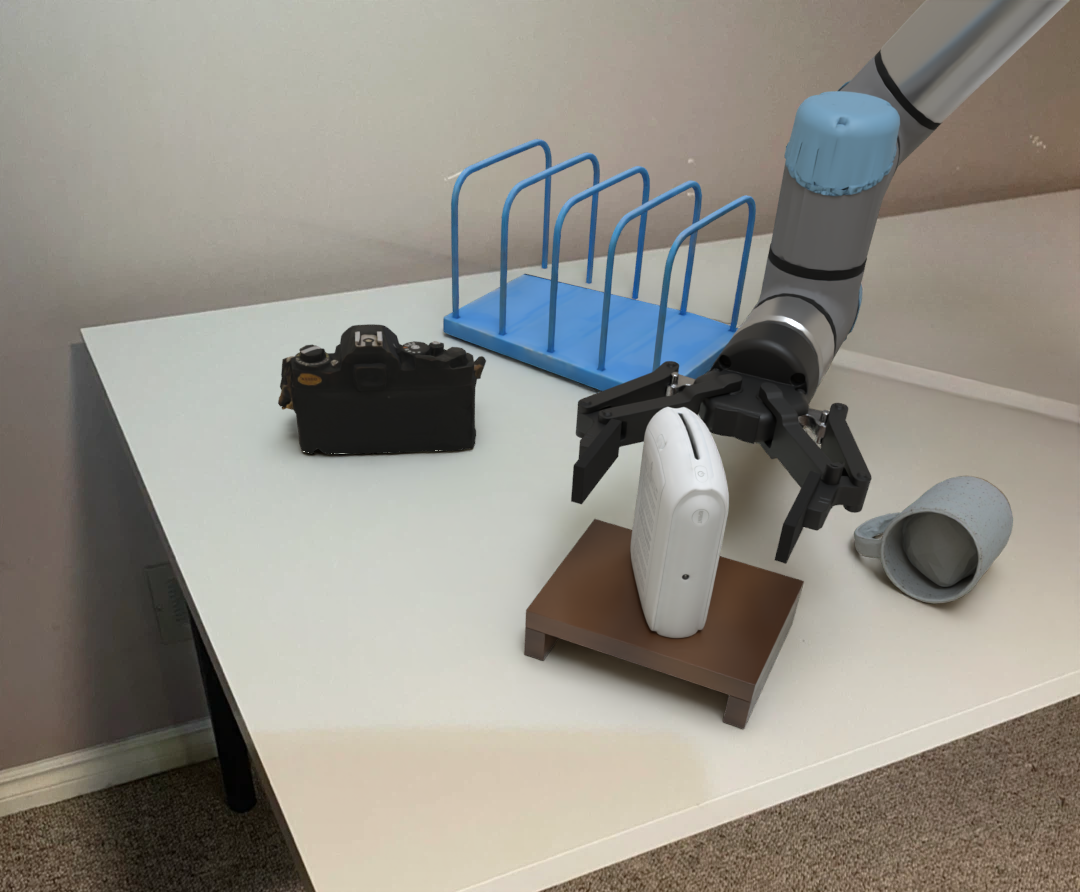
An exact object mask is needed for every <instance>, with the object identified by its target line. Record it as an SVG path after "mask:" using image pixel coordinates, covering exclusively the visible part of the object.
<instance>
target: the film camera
mask: <svg viewBox="0 0 1080 892" xmlns="http://www.w3.org/2000/svg"><path fill="white" fill-rule="evenodd" d="M486 362H487V359H486V358H485V357H484V356H483V355H481V356H478V357H477V358H476V359H474V354H472V353H470V352H467V351H466V349H464V348H463V347H458V346H451V347H449V348H448V349H447V348H446V349H445V343H444V342H440V341H437V340H434V341H431V342H429V343H426V342H424V341H413V340H412V341H409V342H406V343H403V344H401V343H400V341H399V338H398V335H397V334H396V333H394V331H392V330H391V329H390V328H389V327H388V326H387V325H383V324H375V323H374V324H371V323H370V324H355V325H351V326H349V327H348V328H347V329H346V330H344V332H342V333H341V335H340V341H339V344H338V345H336V346H335V349H334V352H326V349H325V348H323V347H321V346H319V345H315V344H305V345H304V346H302V347H301V348H299V352H297V353H296V354H295V355H291V356H287V357H285V358H282V360H281V371H280V372H281V373H280V376H281V379H280V384H279V388H280V394H279V396H278V401H277V404H278V406H279V407H281V410H283V411H284V410H286V409H287V410H291V411H293V412H294V413H295V417H296V425H297V432H298V433H297V434H298V444H299V447H300V450H301V449H302V450H301V452H302V451H305V452H309V453H314V452H315V451H316V450H319V451H320V452H321V453H323V454H325V455H327V454H331V453H332V454H334V453H356V454H355V455H363V454H362V453H365V454H367V453H369V454H371V453H372V454H374V453H377V454H384V453H383V452H387V453H386V454H389V453H388V452H400V453H403V452H404V453H405V452H406V453H419V452H418V451H422V452H425V451H435V450H438V451H439V450H443V451H442V452H453V451H452V450H456V451H464V449H465V450H470V449H469V448H471V449H473V448H475V445H474V444H476V443H475V442H476V438H477V429H476V418H475V417H476V386H477V382H478V380H479V379H482V374H483V371H484V368H485V365H486ZM461 449H462V450H461ZM446 450H447V451H446ZM439 452H440V451H439ZM358 453H360V454H358ZM334 455H335V454H334Z"/></svg>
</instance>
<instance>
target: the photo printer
mask: <svg viewBox="0 0 1080 892" xmlns="http://www.w3.org/2000/svg"><path fill="white" fill-rule="evenodd" d="M642 445H643V446H642V452H641V461H640V468H639V476H638V484H637V493H636V499H635V507H634V513H633V521H632V528H631V530H632V537H631V561H632V566H633V571H634V576H635V580H636V585H637V589H638V593H639V597H640V601H641V605H642V609H643V612H644V615H645V618H646V621H647V623H648V626H649V628H650V629H651V630H652V631H656V632H657V633H658V634H659V635H661V636H665V637H669V638H684V637H689V636H692V635H694V634H695V633H696V632H697V631H698V630H702V629H703V627H704V625H705V622H706V619H707V614H708V609H709V605H710V600H711V595H712V591H713V586H714V581H715V576H716V571H717V566H718V562H719V557H720V556H721V552H722V551H721V550H722V547H723V542H724V536H725V531H726V526H727V522H728V517H729V510H730V509H729V508H730V495H729V494H730V493H729V485H728V481H727V475H726V471H725V467H724V464H723V460H722V457H721V454H720V452H719V449H718V446H717V443H716V441H715V439H714V438H713V435H712V433H710V431H709V429H708V428H707V426H706V425H705V423H704V422H703V421H702V419H701V418H700V416H699V415H696V414H695V413H694V412H692V411H691V410H689V409H687V408H685V407H682V408H678V409H676V408H671V407H666V408H663V409H662V410H660V411H659V412H658V413H656V414H655V415H654V416H653V418H652V419H651V420H650V422H649V424H648V426H647V428H646V432H645V436H644V442H643V444H642Z"/></svg>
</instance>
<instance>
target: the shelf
mask: <svg viewBox="0 0 1080 892" xmlns="http://www.w3.org/2000/svg"><path fill="white" fill-rule="evenodd" d="M631 537H632V528H628V527H625V526H621V525H618V524H614V523H611V522H608V521H604V520H600V519H599V518H594V519H593V520H592V521H591V523H590V524H589V526H587V528H586V530H585V531H584V532H583V534H582V535H581V536H580V537H579V539H578V540H577V542H576V543H574V546H572V548H571V550H570V551H569V552H568V553H567V555H566V556H565V557H564V559H563V560H562V562H561V563H560V564H559V565H558V566H557V568H556V570H555V571H554V572H553V574H551V576H550V577H549V579H548V580H547V582H546V583H545V584H544V585H543V587H542V588H541V590H540V591H539V592H538V594H536V596H535V597H534V599H533V600H532V601H531V602H530V604H529V605H528V607H527V608H526V609H525V625H524V649H523V654H524V655H526V656H528V657H531V658H534V659H536V660H540V661H543V662H544V660H545V659H546V658H547V656H548V655H549V654H550V652H551V651H552V649H553V648H554V646H555V645H556V644H557V642H558V640H559V639H560V640H564V641H567V642H569V643H572V644H576V645H579V646H582V647H585V648H587V649H590V650H594V651H597V652H598V653H599V652H600V653H603V654H606V655H607V656H608V655H609V656H612V657H614V658H618V659H621V660H623V661H627V662H629V663H632V664H635V665H639V666H641V667H643V668H644V667H645V668H648V669H651V670H653V671H657V672H659V673H663V674H666V675H668V676H672V677H674V678H677V679H679V680H680V679H681V680H683V681H687V682H688V683H689V682H690V683H692V684H696V685H698V686H702V687H704V688H707V689H710V690H713V691H716V692H719V693H722V694H725V695H728V697H727V701H726V704H725V705H726V706H725V709H724V715H723V718H722V723H724V724H728V725H730V726H733V727H736V728H740V729H742V730H744V729H746V726H747V724H748V722H749V720H750V718H751V715H752V713H753V711H754V708H755V707H756V705H757V702H758V700H759V698H760V697H761V696H760V695H761V694H762V691H763V689H764V687H765V685H766V683H767V681H768V678H769V676H770V673H771V672H772V669H773V667H774V665H775V663H776V661H777V658H778V657H779V654H780V652H781V650H782V647H783V645H784V643H785V641H786V639H787V637H788V635H789V632H790V630H791V628H792V626H793V623H794V620H795V615H796V613H797V609H798V605H799V601H800V598H801V595H802V591H803V587H804V584H805V581H804V580H802V579H799V578H795V577H792V576H789V575H786V574H782V573H778V572H775V571H772V570H769V569H765V568H761V567H759V566H755V565H752V564H748V563H745V562H743V561H742V562H741V561H739V560H735V559H732V558H728V557H725V556H721V555H720V557H719V562H718V566H717V571H716V576H715V581H714V586H713V591H712V595H711V600H710V605H709V609H708V614H707V619H706V622H705V625H704V627H703V629H702V630H698V631H697V632H696V633H695V634H694V635H692V636H689V637H684V638H669V637H665V636H661V635H659V634H658V633H657V632H656V631H652V630H651V629H650V628H649V626H648V623H647V621H646V618H645V615H644V612H643V609H642V605H641V601H640V597H639V593H638V589H637V585H636V580H635V576H634V571H633V566H632V561H631Z"/></svg>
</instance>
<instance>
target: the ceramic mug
mask: <svg viewBox="0 0 1080 892" xmlns="http://www.w3.org/2000/svg"><path fill="white" fill-rule="evenodd" d="M1013 526H1014V516H1013V510H1012V507H1011V504H1010V501H1009V500H1008V497H1007V496H1006V495H1005V494H1004V492H1003V491H1002V490H1001V489H1000V488H999V487H998V486H996V485H995V484H994V483H991V482H990V481H988V480H986V479H984V478H981V477H979V476H974V475H973V476H972V475H958V476H954V477H949V478H946V479H944V480H942V481H939V482H937V483H936V484H934V485H933V486H931V487H930V488H929V489H927V490H926V491H925V492H923V494H921V495H920V496H919V497H918V498H917V499H916V500H914V501H913V502H912V503H911V504H909V505H907V507H905V508H904V509H903V510H902V511H900V512H891V513H886V514H882V515H878V516H874V517H872V518H870V519H868V520H866V521H865V522H862V523H861V524H860V525H858V526H857V527H855V529H854V532H853V538H854V547H855V550H856V552H857V553H858V554H859V555H861V556H863V557H865V558H869V559H870V558H871V559H877V560H880V562H881V566H882V568H883V571H884V573H885V574H886V576H887V577H888V579H889V581H890V582H891V583H892V584H893V585H894V586H895V587H896V588H897V589H899V590H900V591H901V592H902V593H904V594H905V595H906V596H908V597H910V598H912V599H915V600H917V601H920V602H923V603H927V604H946V603H949V602H953V601H957V600H958V599H960V598H962V597H964V596H966V595H967V594H968V593H970V592H971V590H972V589H973V588H974V587H975V586H976V585H977V584H978V583H979V581H980V580H981V579H982V577H983V576H984V575H985V574H986V572H987V571H988V570H989V569H990V568H991V566H992V565H993V563H994V562H995V561H996V560H997V559H998V557H999V556H1000V555H1001V553H1002V552H1003V551H1004V549H1005V548H1006V547H1007V544H1008V542H1009V540H1010V537H1011V535H1012V533H1013ZM880 535H881V537H880V538H874V537H877V536H880Z"/></svg>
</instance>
